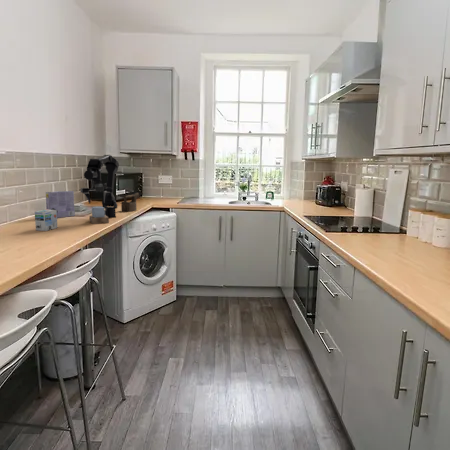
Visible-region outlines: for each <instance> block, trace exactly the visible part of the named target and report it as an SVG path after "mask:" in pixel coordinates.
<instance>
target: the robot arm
mask: <svg viewBox="0 0 450 450" xmlns="http://www.w3.org/2000/svg"><path fill="white" fill-rule="evenodd" d="M103 166H105V170H106V172H107V179H106V182H105V183H104V182H102V171H103V170H102V167H103ZM119 167H120V164H119V162H118V160H117V159H116V158H115V157H114V156H113V155H111V154H104V155H101V156H100V157H98V158H90V159H89V160H88V163H87V166H86V171H85V172H84V174H83V176H84V179H86V180H88V181H91V188H89V187H80V190H79V191H80V193H82V194H84V195H85V197H86V199H87V201H88V203H89V204H91V196H90V195H91V192H98V193H99V192H103V195H102V200H101V205H102V206H101V207H104V212H105V215H106V216H108V217H109V219H110V218H117V215H116V209H118V203H117V201H116V197H115V195H114V190H115V177H116V173H117V172H118V171H119Z"/></svg>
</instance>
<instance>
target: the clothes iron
mask: <svg viewBox="0 0 450 450" xmlns="http://www.w3.org/2000/svg"><path fill="white" fill-rule="evenodd" d="M139 197H140V193H139V192H135V193H133V194H127V195H124V196H123V201H121V209H120V211H121V212H128V213H129V212H135V211H137V199H138V198H139ZM130 198H131V201H127V199H130Z"/></svg>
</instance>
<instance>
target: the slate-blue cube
mask: <svg viewBox="0 0 450 450" xmlns="http://www.w3.org/2000/svg"><path fill="white" fill-rule="evenodd" d="M104 210H105V208H104V207H103V206H91V216H93V217H95V218H97V217H105V212H104Z"/></svg>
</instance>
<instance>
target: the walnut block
mask: <svg viewBox="0 0 450 450" xmlns="http://www.w3.org/2000/svg"><path fill="white" fill-rule="evenodd" d="M109 219H110V218H109V217H108V216H106V215H105V217H97V218H95V217H93V216H92V215H89V222H90V223H91V224H92V225H94V224H109V222H110V220H109Z"/></svg>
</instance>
